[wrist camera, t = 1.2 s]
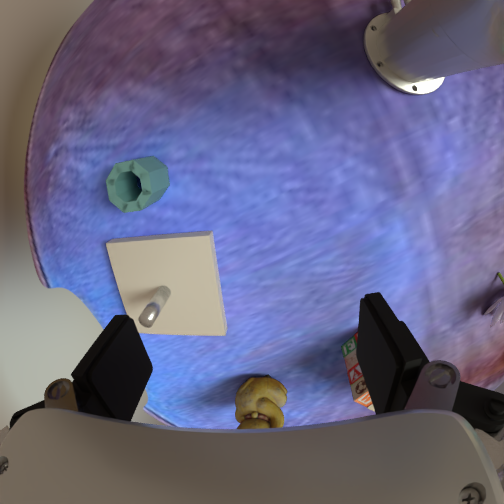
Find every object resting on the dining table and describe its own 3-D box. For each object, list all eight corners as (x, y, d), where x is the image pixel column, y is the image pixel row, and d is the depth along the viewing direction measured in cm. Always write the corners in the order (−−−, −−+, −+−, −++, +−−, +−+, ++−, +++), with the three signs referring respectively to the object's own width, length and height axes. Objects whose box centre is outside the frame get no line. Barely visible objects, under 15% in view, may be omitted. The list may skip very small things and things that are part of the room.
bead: (126, 161, 35) (103, 166, 29) (165, 153, 34) (146, 157, 28) (133, 203, 37) (112, 214, 31) (171, 197, 36) (154, 208, 31)
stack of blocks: (425, 367, 46) (447, 411, 34) (403, 386, 48) (420, 431, 36) (366, 322, 42) (388, 376, 30) (339, 346, 44) (353, 402, 33)
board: (112, 238, 39) (77, 265, 30) (212, 230, 38) (194, 259, 29) (137, 325, 45) (115, 361, 36) (227, 327, 44) (217, 370, 35)
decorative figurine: (254, 403, 51) (248, 466, 37) (225, 383, 49) (212, 449, 35) (293, 385, 48) (295, 453, 34) (264, 361, 46) (260, 434, 32)
